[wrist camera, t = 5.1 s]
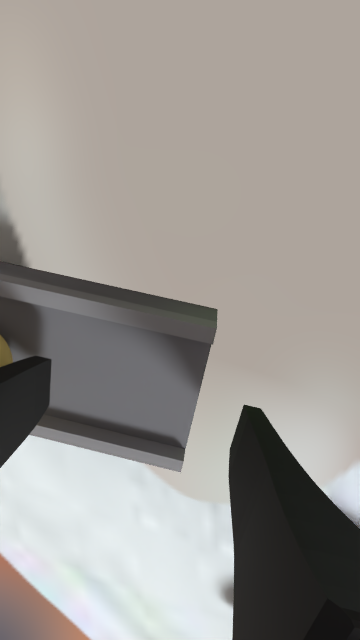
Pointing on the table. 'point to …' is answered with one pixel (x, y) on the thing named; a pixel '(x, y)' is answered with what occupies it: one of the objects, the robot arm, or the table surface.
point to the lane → (110, 362)
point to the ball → (5, 353)
